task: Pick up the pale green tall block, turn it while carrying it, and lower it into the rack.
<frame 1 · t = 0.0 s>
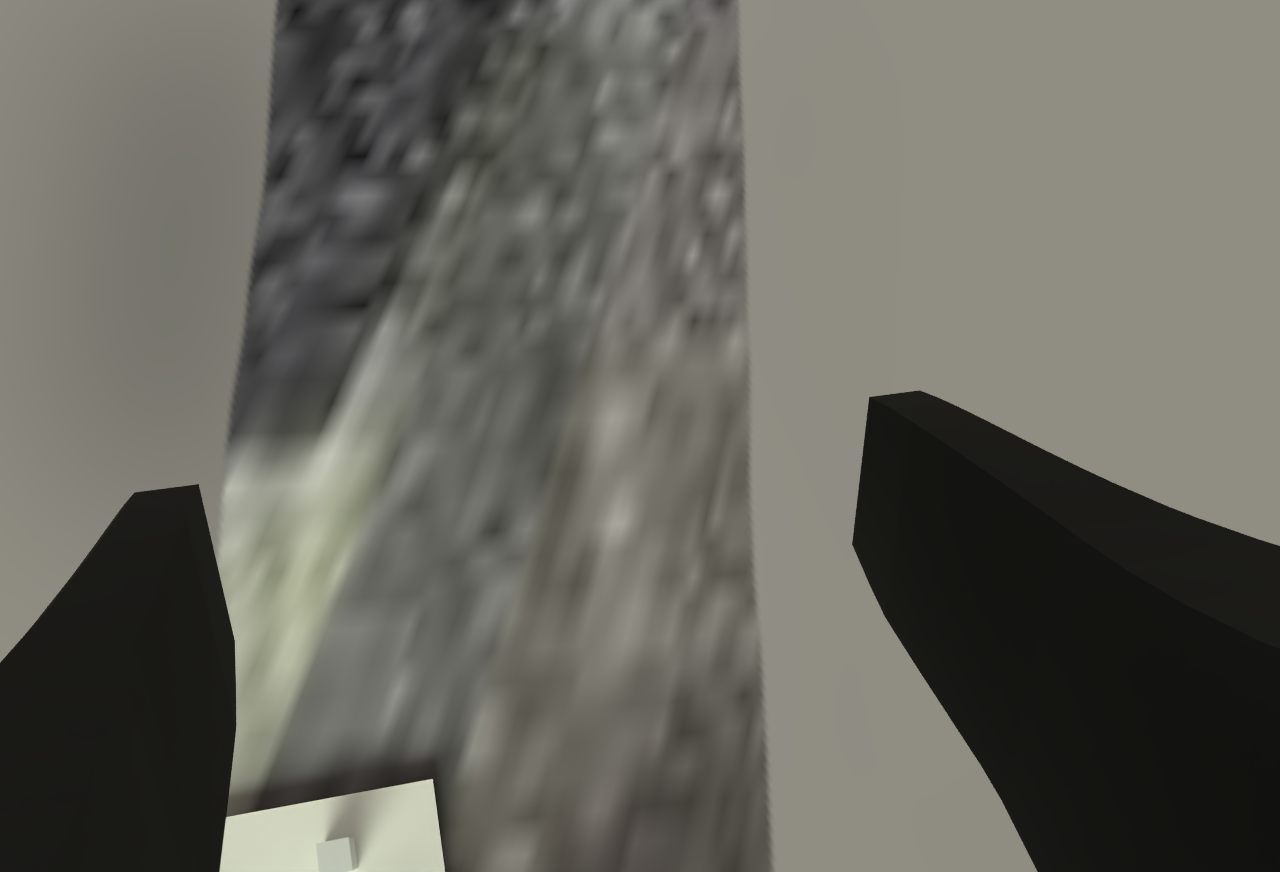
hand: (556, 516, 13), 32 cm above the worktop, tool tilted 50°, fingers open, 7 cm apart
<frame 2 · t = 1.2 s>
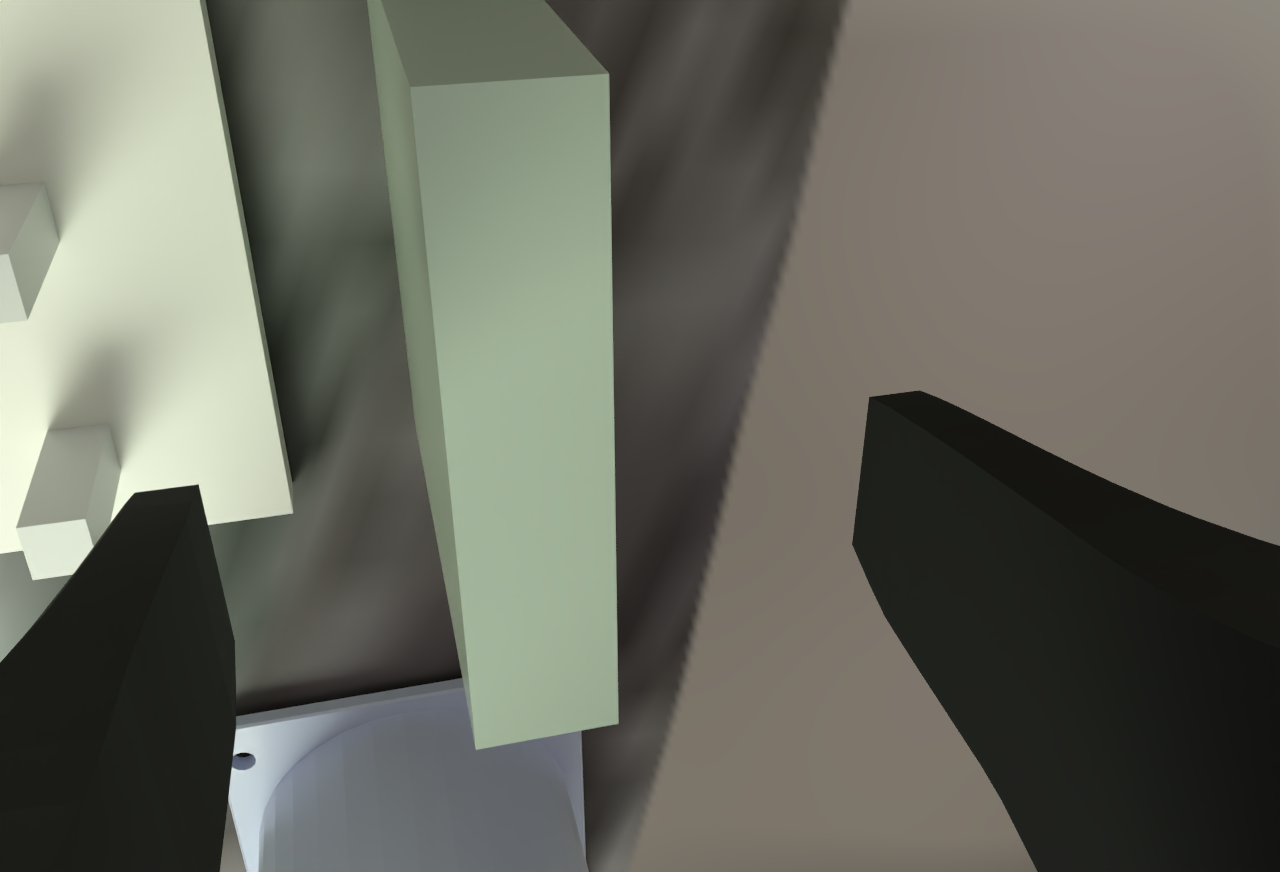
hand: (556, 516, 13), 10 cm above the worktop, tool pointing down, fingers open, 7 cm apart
pale green tall block: (446, 202, 22), on the worktop
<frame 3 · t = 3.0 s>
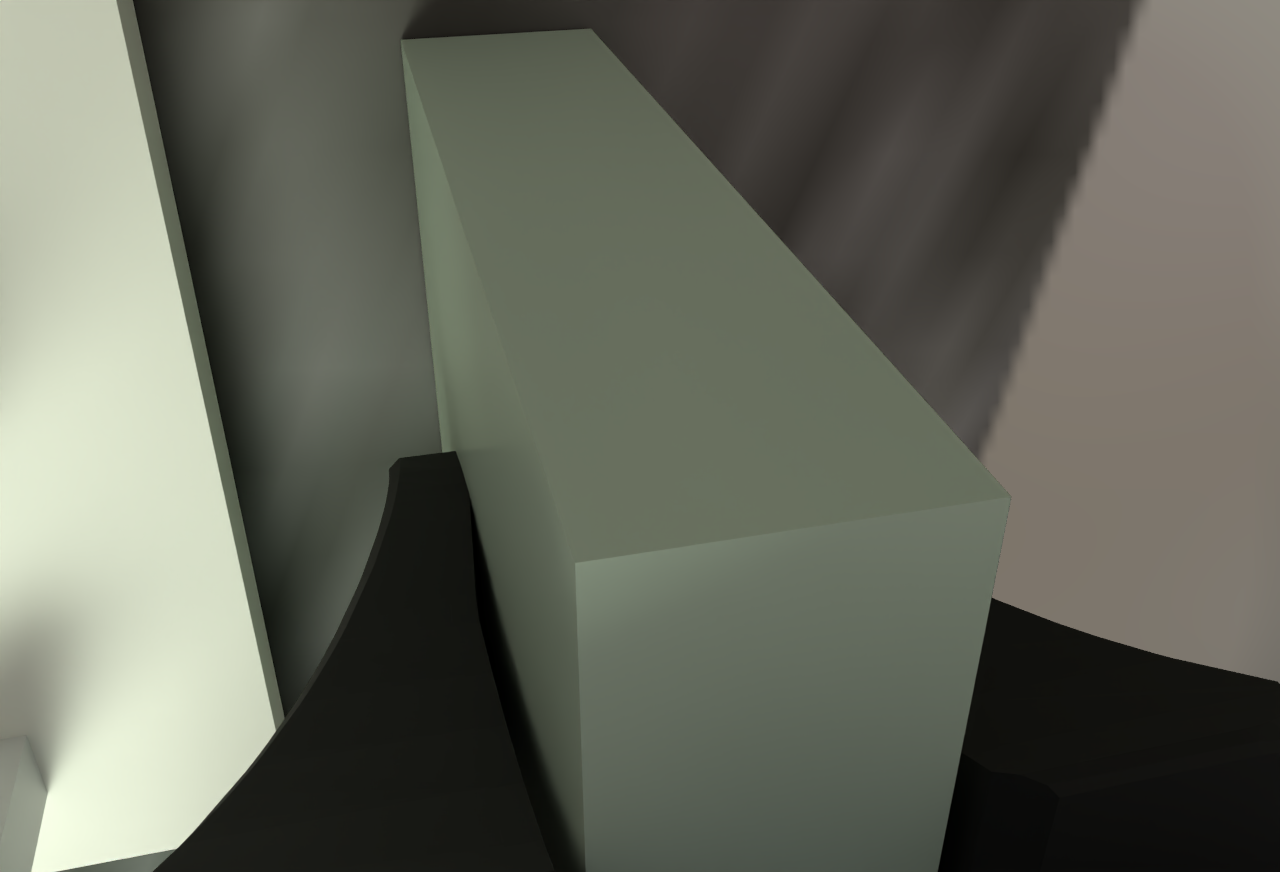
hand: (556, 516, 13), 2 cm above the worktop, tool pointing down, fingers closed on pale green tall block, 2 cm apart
pale green tall block: (519, 405, 15), on the worktop, touching gripper
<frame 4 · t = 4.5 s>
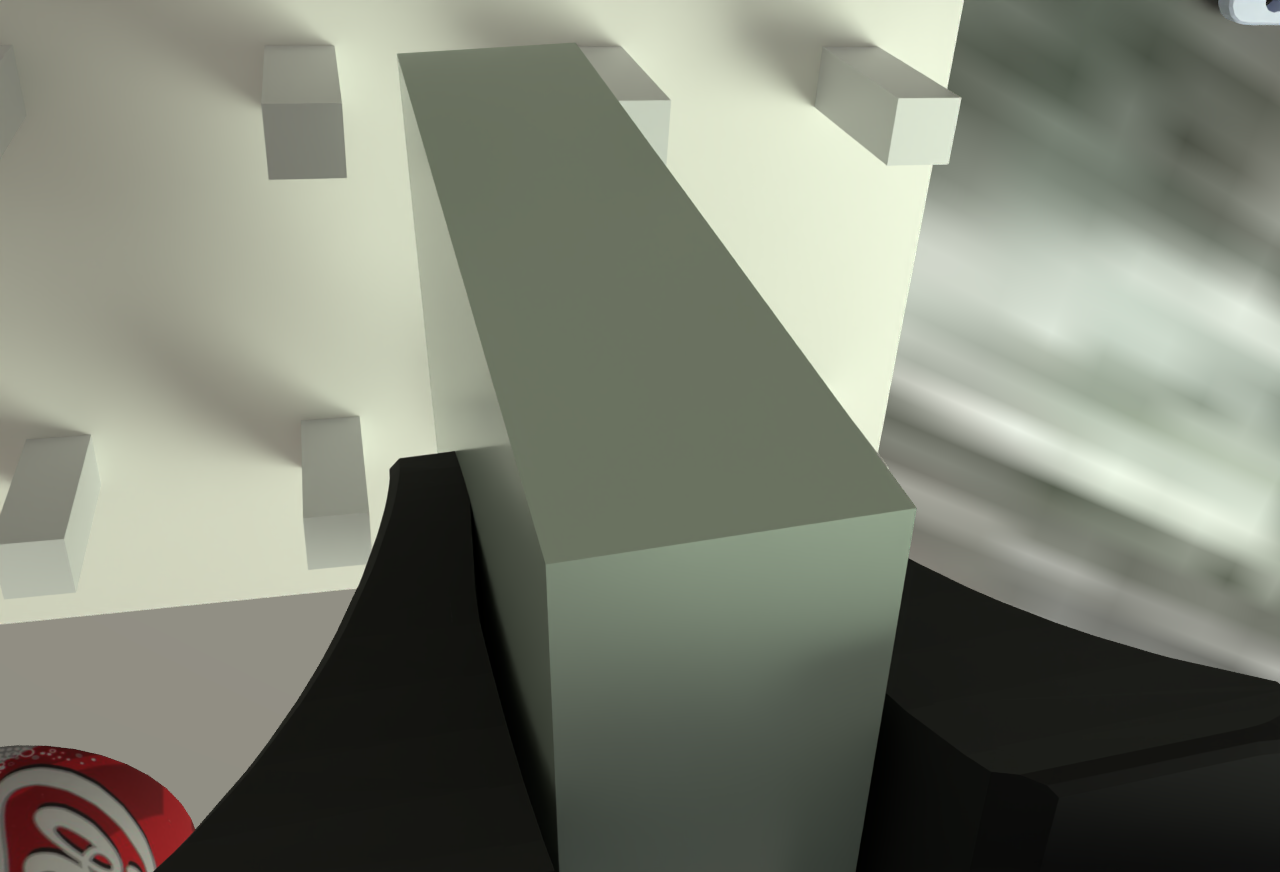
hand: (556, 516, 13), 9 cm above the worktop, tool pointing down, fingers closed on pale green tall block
rack: (447, 247, 21), on the worktop
soda can: (36, 827, 26), on the worktop
pale green tall block: (508, 392, 16), point 6 cm above the worktop, touching gripper
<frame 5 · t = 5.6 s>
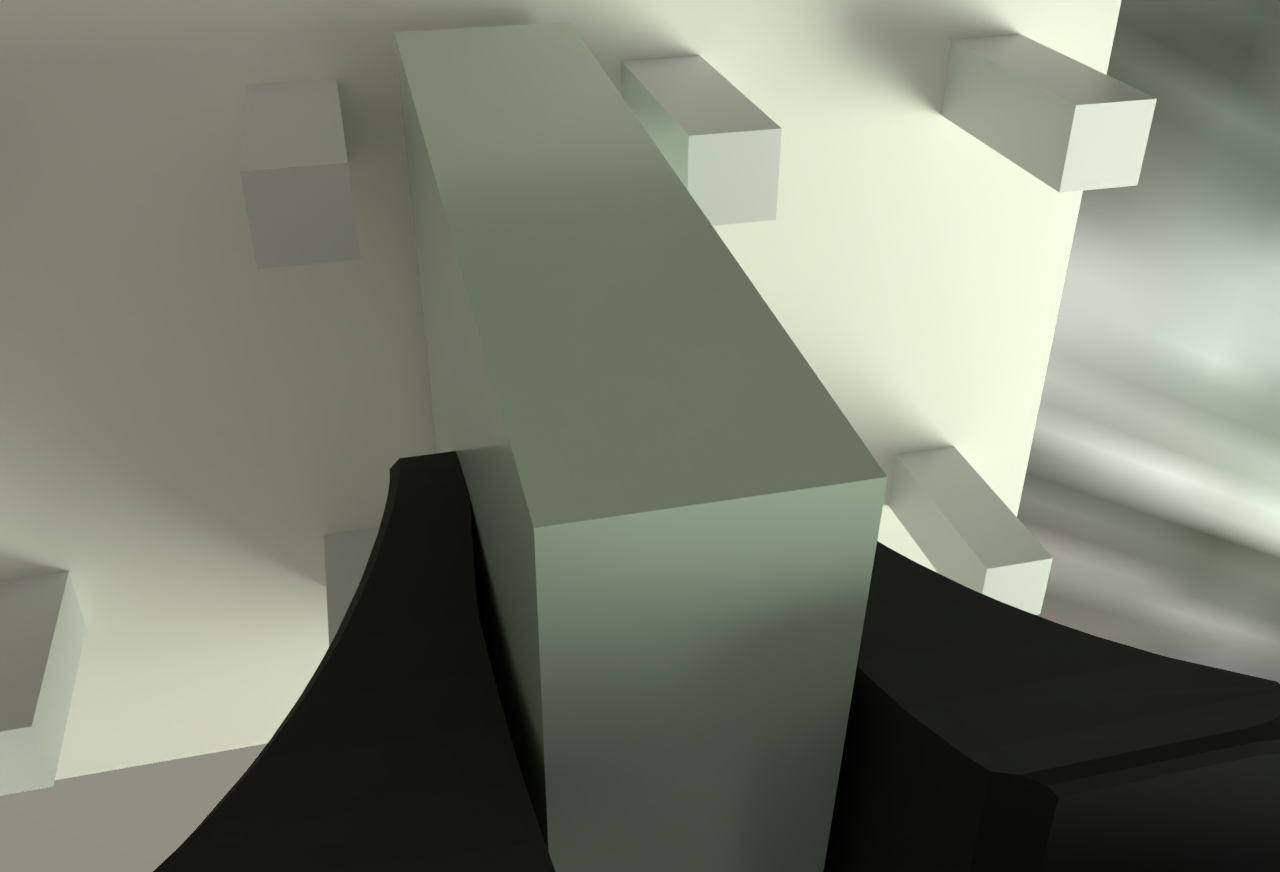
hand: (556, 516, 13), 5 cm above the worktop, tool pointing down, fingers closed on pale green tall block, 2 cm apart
rack: (490, 313, 17), on the worktop
pale green tall block: (503, 366, 16), point 1 cm above the worktop, touching gripper
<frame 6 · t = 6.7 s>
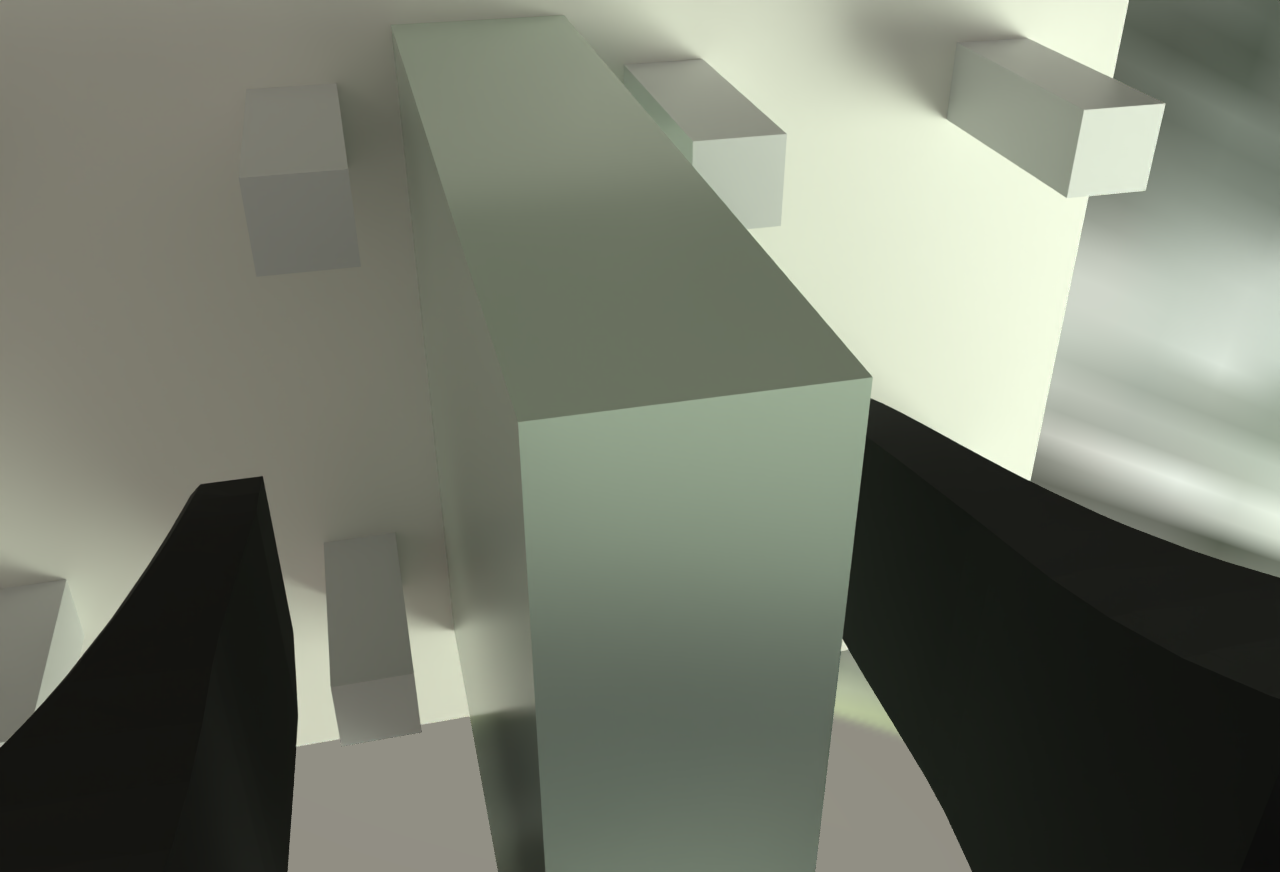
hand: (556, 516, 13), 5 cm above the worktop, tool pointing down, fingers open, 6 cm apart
rack: (491, 319, 17), on the worktop
pale green tall block: (501, 363, 16), point 1 cm above the worktop, touching rack
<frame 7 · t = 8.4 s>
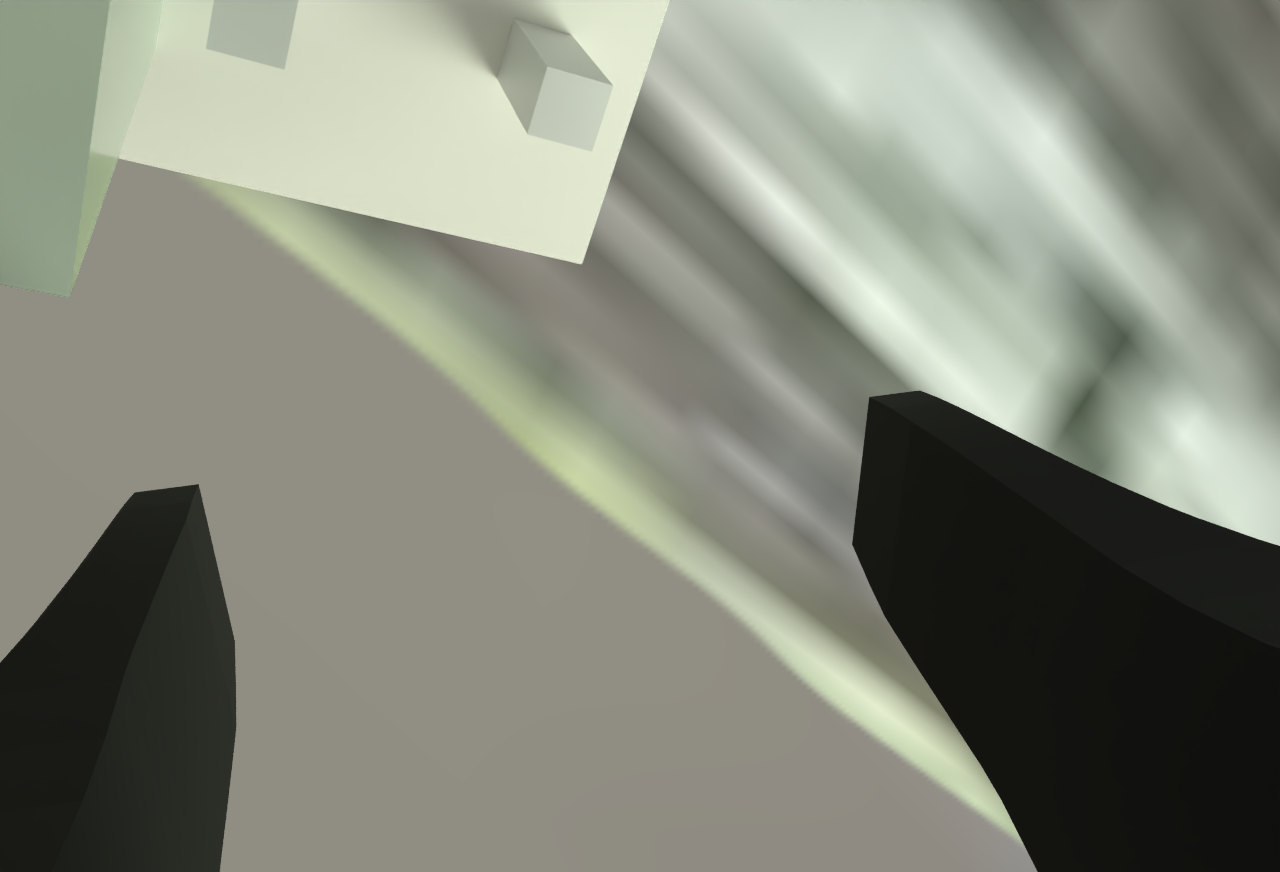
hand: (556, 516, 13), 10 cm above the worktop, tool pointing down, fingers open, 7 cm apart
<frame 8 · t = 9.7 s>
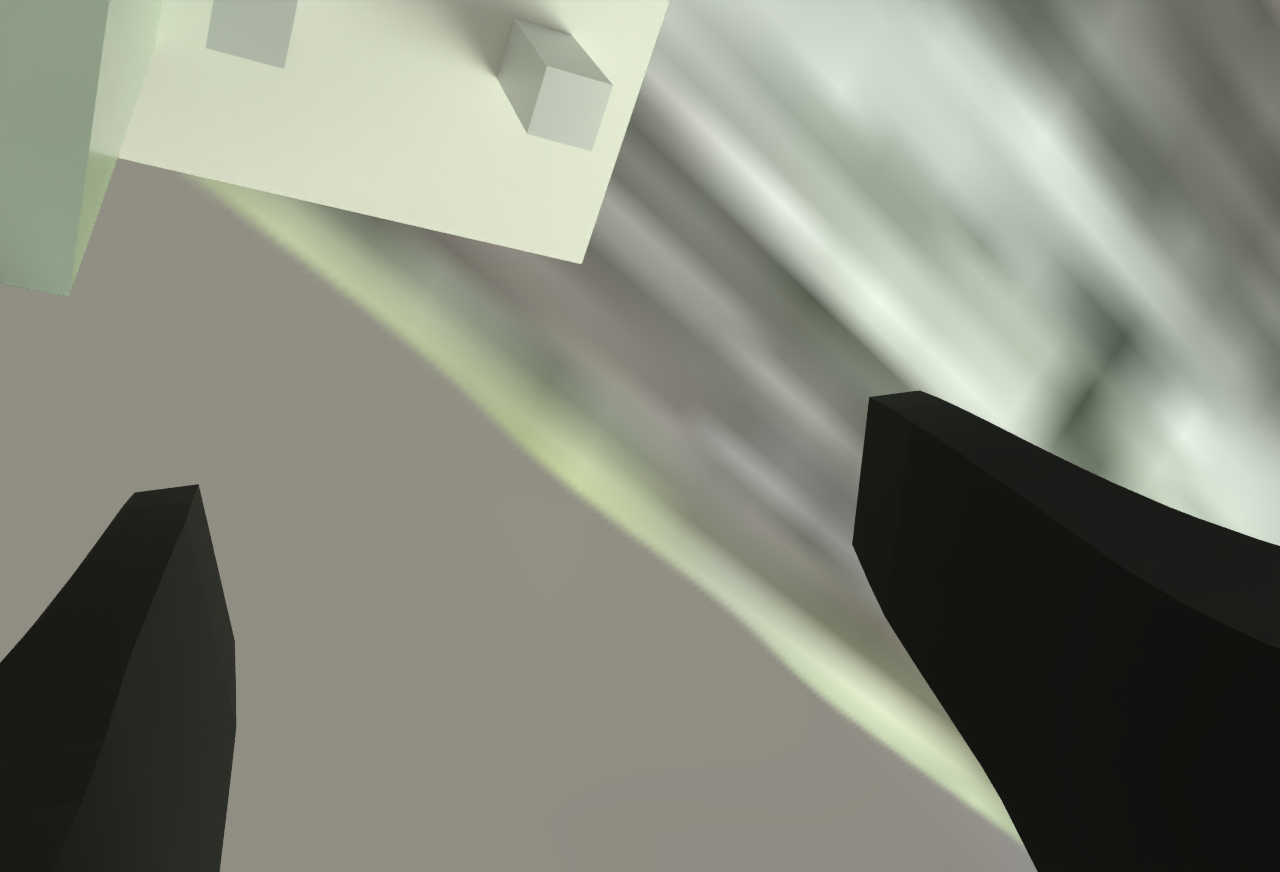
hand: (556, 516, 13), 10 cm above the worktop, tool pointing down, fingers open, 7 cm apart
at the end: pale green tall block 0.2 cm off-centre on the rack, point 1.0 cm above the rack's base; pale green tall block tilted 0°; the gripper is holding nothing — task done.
